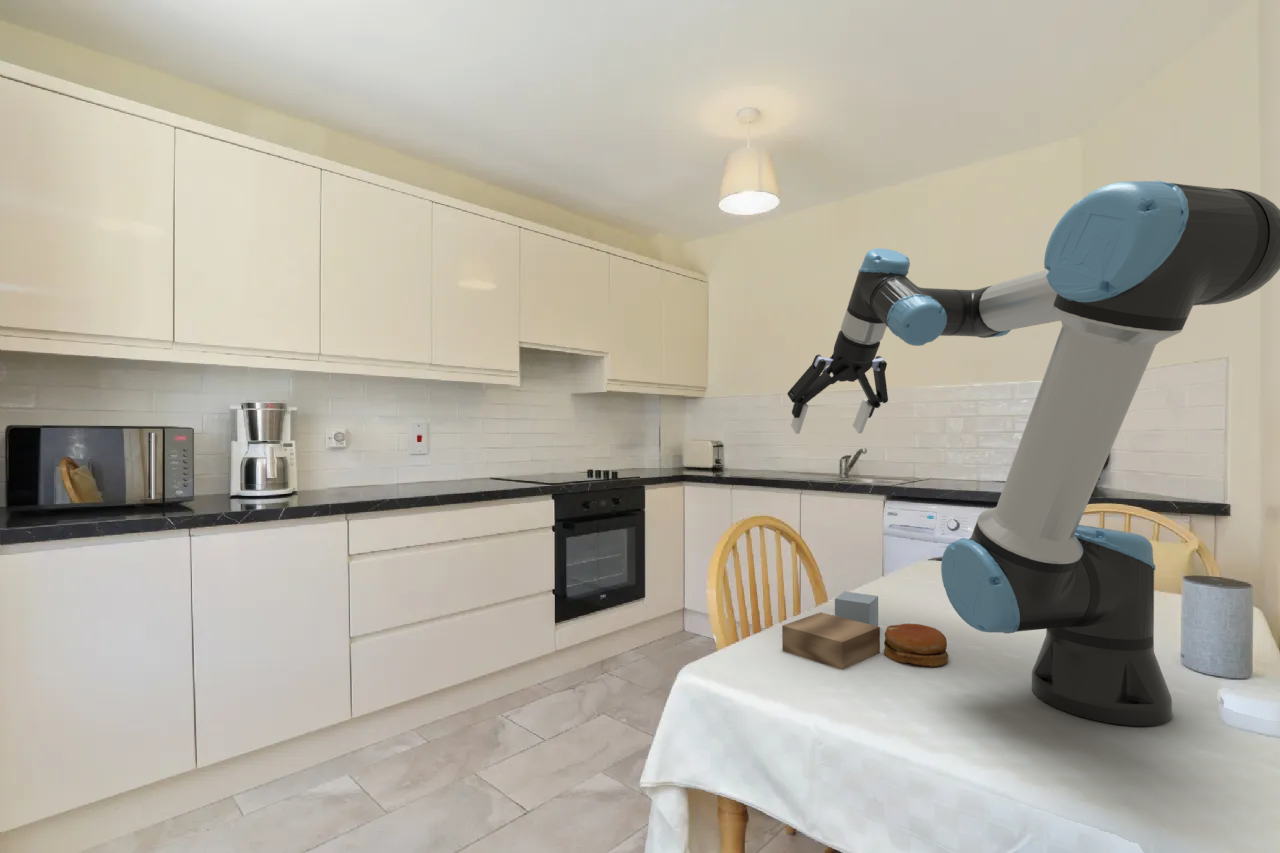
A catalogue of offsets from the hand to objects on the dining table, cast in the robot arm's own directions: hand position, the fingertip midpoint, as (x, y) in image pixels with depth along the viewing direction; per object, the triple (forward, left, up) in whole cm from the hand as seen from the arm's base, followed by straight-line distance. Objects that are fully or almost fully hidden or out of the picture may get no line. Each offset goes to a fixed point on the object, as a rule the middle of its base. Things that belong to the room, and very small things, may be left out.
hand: (826, 429), depth 129 cm
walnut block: (-14, +21, -36) cm, 44 cm away
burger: (-24, +13, -36) cm, 46 cm away
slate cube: (-11, +8, -36) cm, 39 cm away
